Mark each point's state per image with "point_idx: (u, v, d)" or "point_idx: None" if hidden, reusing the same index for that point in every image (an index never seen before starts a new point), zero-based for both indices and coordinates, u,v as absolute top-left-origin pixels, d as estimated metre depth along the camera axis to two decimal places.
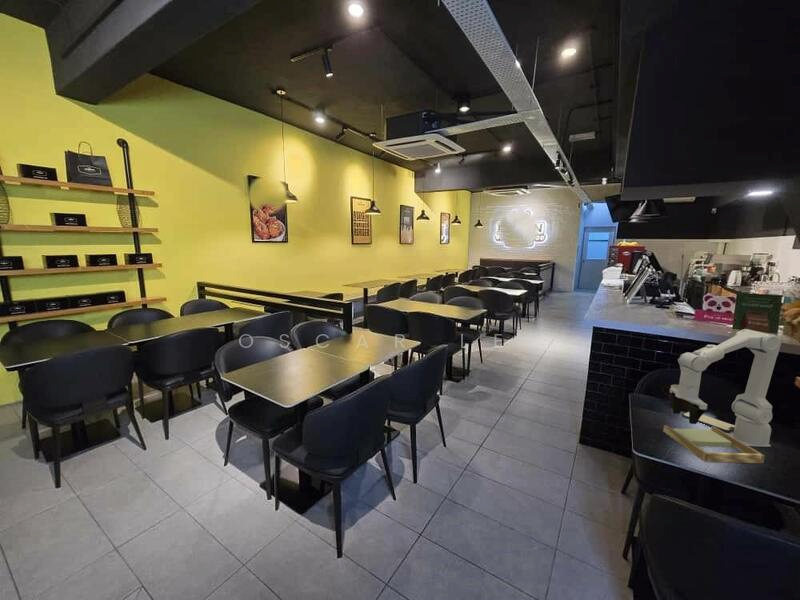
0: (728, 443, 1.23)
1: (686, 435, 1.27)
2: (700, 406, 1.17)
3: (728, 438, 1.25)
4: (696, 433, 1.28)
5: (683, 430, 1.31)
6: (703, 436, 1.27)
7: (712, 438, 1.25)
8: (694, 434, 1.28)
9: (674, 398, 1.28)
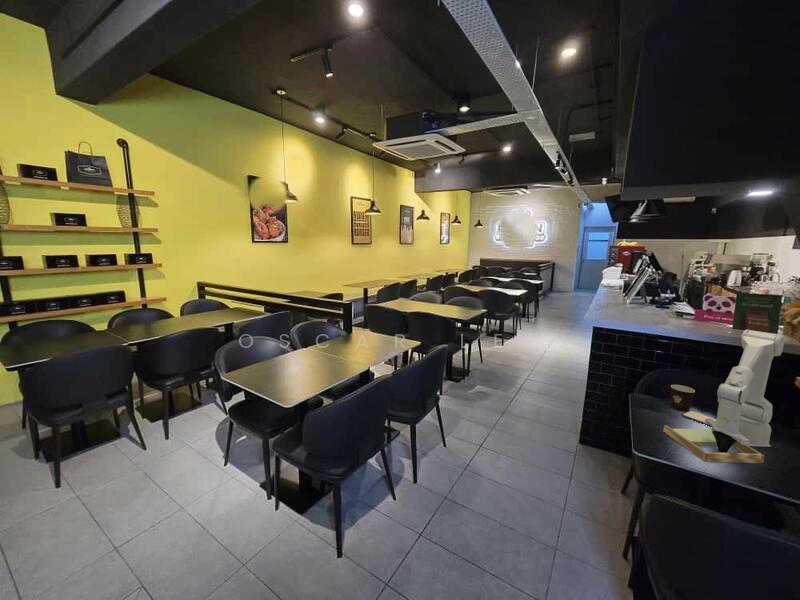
0: None
1: (686, 435, 1.27)
2: (742, 442, 1.10)
3: None
4: (696, 433, 1.28)
5: (683, 430, 1.31)
6: (703, 436, 1.27)
7: (712, 438, 1.25)
8: (694, 434, 1.28)
9: None
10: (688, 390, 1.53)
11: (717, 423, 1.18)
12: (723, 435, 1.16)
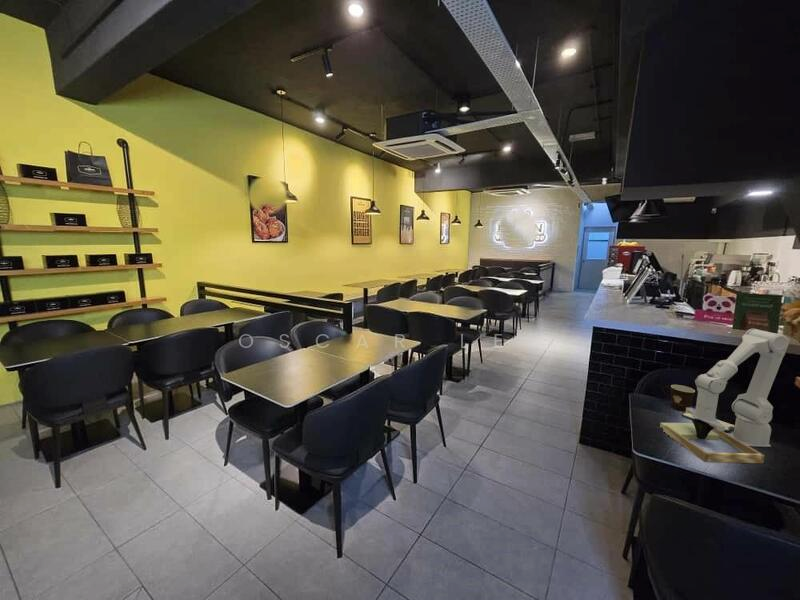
0: (716, 436, 1.28)
1: (676, 429, 1.32)
2: (718, 428, 1.19)
3: (728, 438, 1.25)
4: (686, 427, 1.33)
5: (673, 424, 1.35)
6: (692, 430, 1.31)
7: None
8: (684, 427, 1.33)
9: None
10: (688, 390, 1.53)
11: (696, 411, 1.26)
12: (701, 422, 1.25)
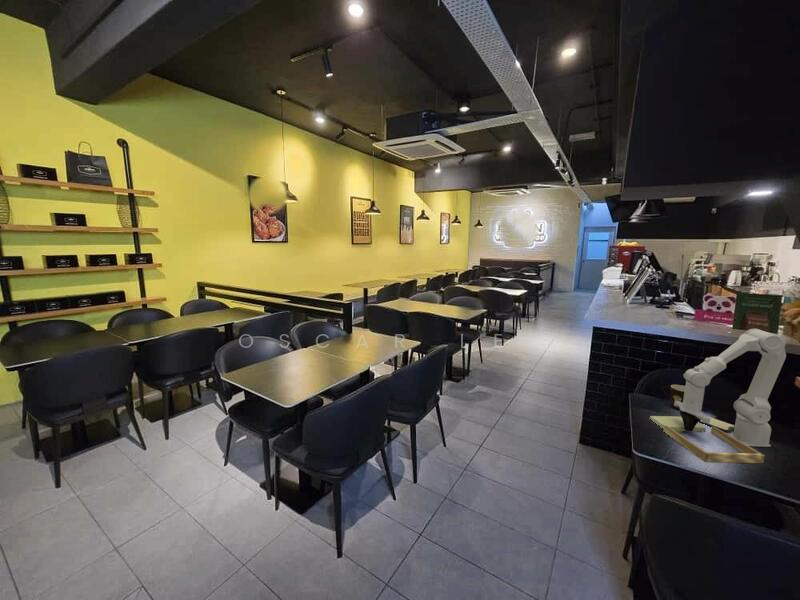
0: (702, 428, 1.33)
1: (664, 422, 1.38)
2: (704, 420, 1.25)
3: (728, 438, 1.25)
4: (674, 420, 1.39)
5: (662, 417, 1.41)
6: (680, 422, 1.37)
7: None
8: (672, 420, 1.39)
9: None
10: None
11: (683, 404, 1.32)
12: (688, 415, 1.31)
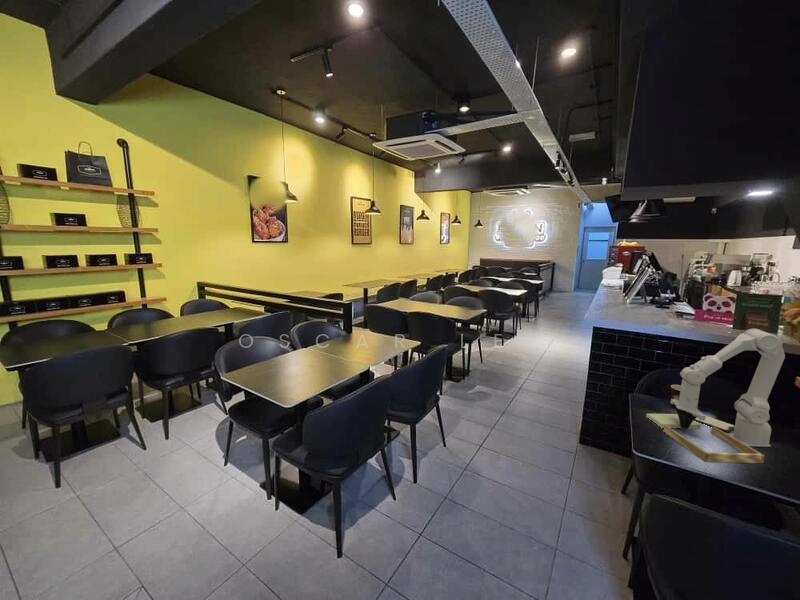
0: (698, 426, 1.35)
1: (660, 419, 1.39)
2: (699, 417, 1.27)
3: (728, 438, 1.25)
4: (670, 418, 1.41)
5: (658, 415, 1.43)
6: (676, 420, 1.39)
7: None
8: (668, 418, 1.41)
9: None
10: None
11: (679, 402, 1.34)
12: (684, 412, 1.33)
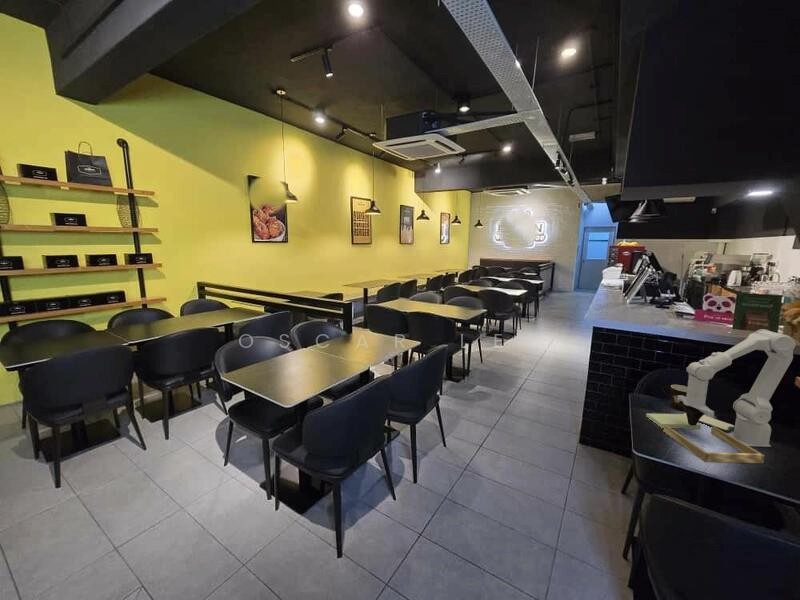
0: (698, 426, 1.35)
1: (660, 419, 1.40)
2: (707, 413, 1.23)
3: (728, 438, 1.25)
4: (670, 417, 1.41)
5: (658, 415, 1.43)
6: (676, 420, 1.39)
7: (684, 421, 1.38)
8: (668, 418, 1.41)
9: None
10: None
11: (687, 398, 1.30)
12: (692, 409, 1.29)
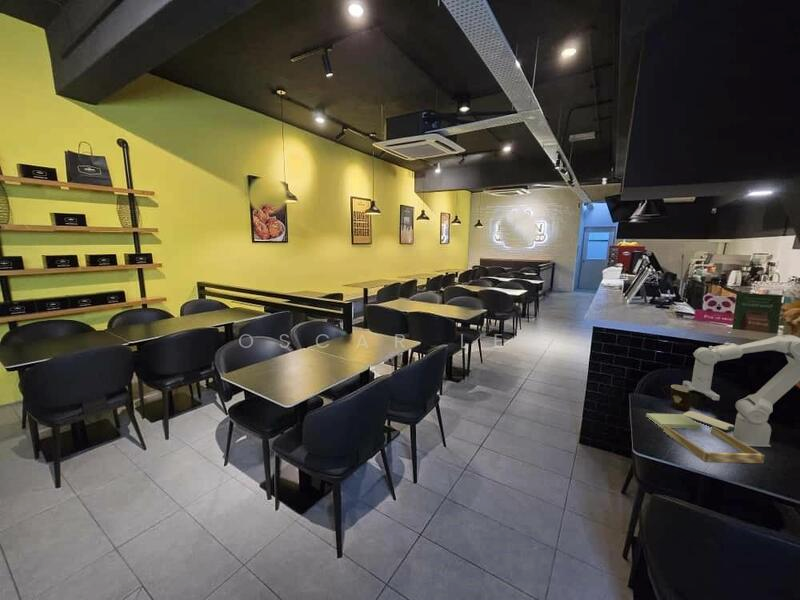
0: (698, 426, 1.35)
1: (660, 419, 1.40)
2: (713, 397, 1.25)
3: (728, 438, 1.25)
4: (670, 417, 1.41)
5: (658, 415, 1.43)
6: (676, 420, 1.39)
7: (684, 421, 1.38)
8: (668, 418, 1.41)
9: None
10: (688, 390, 1.53)
11: (692, 383, 1.32)
12: (697, 393, 1.31)
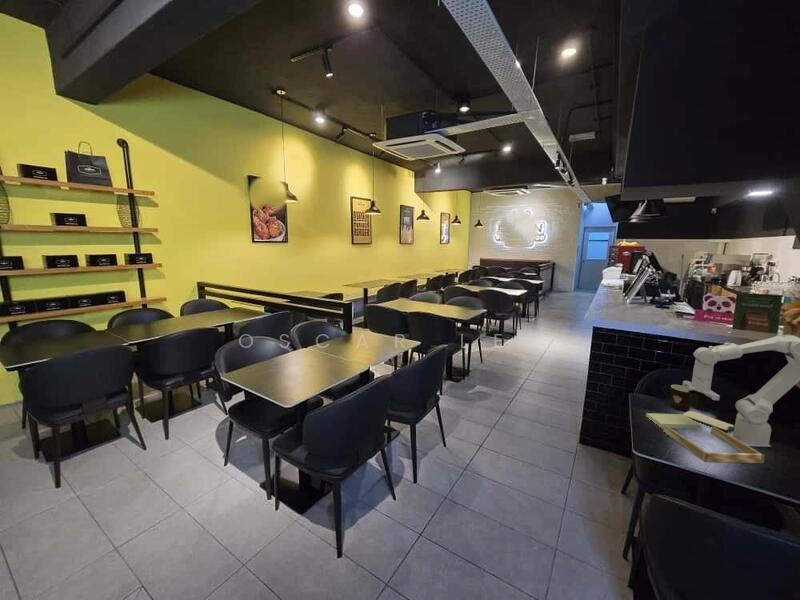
0: (698, 426, 1.35)
1: (660, 419, 1.40)
2: (713, 397, 1.25)
3: (728, 438, 1.25)
4: (670, 417, 1.41)
5: (658, 415, 1.43)
6: (676, 420, 1.39)
7: (684, 421, 1.38)
8: (668, 418, 1.41)
9: None
10: (688, 390, 1.53)
11: (692, 383, 1.32)
12: (697, 393, 1.31)
